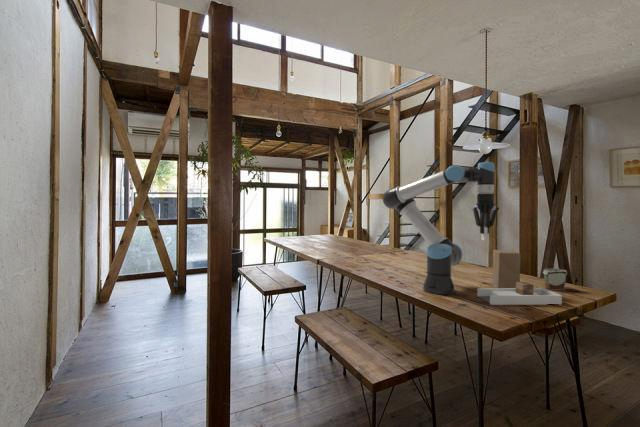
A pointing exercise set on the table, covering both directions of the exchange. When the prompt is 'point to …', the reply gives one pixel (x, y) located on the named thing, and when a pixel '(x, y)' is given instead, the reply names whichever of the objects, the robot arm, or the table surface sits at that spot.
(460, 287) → the table surface
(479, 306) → the table surface
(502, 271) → the wooden block
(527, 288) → the walnut cube
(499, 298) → the white tray
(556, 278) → the food container
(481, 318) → the table surface
